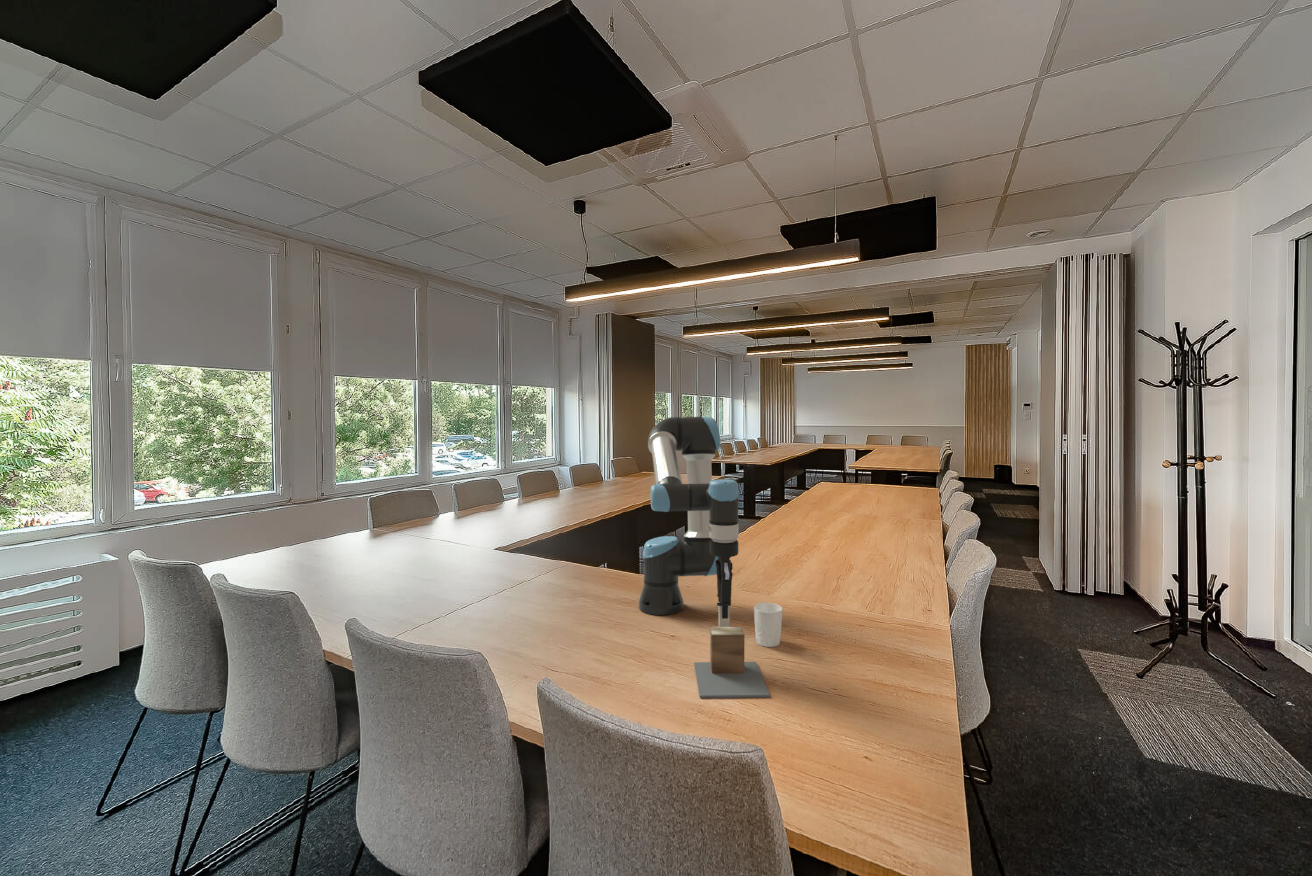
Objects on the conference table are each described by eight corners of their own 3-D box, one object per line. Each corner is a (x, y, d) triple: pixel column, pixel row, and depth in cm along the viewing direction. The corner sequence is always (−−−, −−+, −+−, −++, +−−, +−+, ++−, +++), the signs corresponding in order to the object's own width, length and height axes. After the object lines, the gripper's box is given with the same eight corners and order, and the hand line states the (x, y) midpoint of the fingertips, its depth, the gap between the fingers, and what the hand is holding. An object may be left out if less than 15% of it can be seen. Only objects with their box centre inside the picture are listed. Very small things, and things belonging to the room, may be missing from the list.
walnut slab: (710, 665, 130) (710, 627, 130) (741, 665, 130) (741, 626, 130) (712, 673, 126) (711, 633, 126) (744, 673, 126) (744, 633, 126)
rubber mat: (694, 664, 132) (694, 662, 132) (756, 664, 132) (756, 661, 132) (699, 698, 116) (699, 695, 116) (770, 697, 116) (770, 695, 116)
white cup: (761, 650, 140) (761, 614, 140) (749, 638, 148) (749, 604, 148) (787, 646, 142) (787, 611, 142) (773, 635, 150) (773, 601, 150)
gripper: (706, 534, 140) (707, 619, 140) (712, 545, 126) (712, 639, 127) (734, 533, 140) (734, 619, 140) (742, 545, 127) (742, 639, 127)
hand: (724, 628), depth 134 cm, fingers closed
